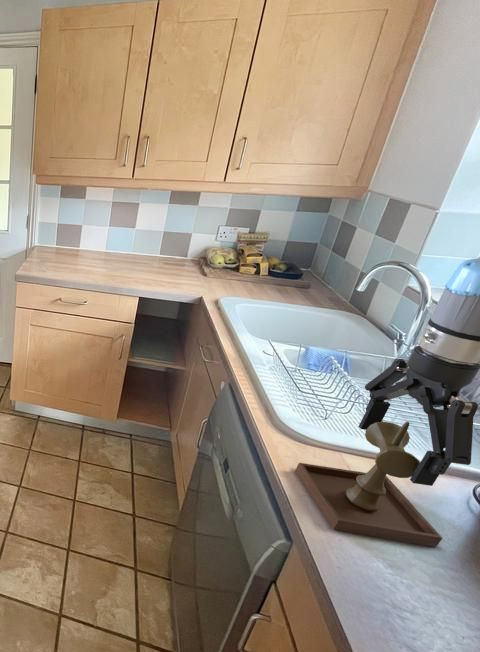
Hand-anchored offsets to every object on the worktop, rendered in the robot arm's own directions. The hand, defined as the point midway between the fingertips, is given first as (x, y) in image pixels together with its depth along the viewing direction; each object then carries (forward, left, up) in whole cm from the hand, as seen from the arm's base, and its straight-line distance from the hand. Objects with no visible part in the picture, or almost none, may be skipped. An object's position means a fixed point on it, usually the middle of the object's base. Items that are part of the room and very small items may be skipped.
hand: (391, 453), depth 76 cm
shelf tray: (0, 0, -14) cm, 14 cm away
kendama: (0, 0, -13) cm, 13 cm away
